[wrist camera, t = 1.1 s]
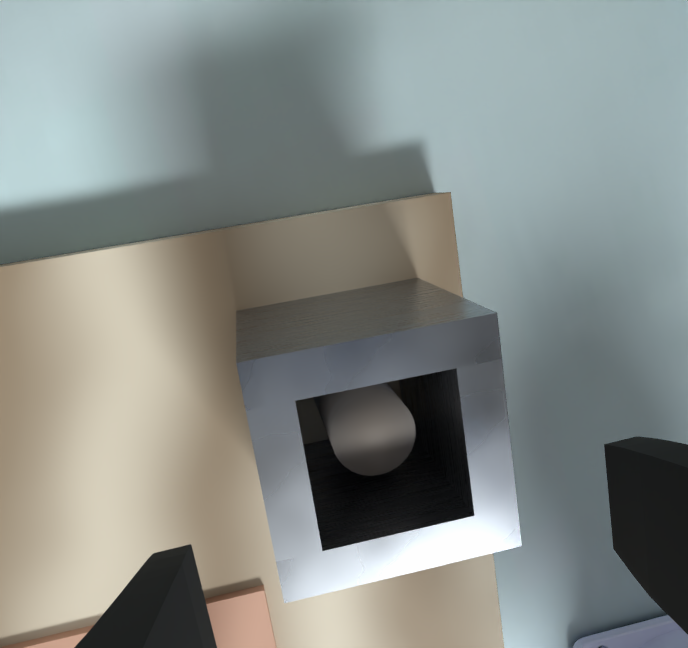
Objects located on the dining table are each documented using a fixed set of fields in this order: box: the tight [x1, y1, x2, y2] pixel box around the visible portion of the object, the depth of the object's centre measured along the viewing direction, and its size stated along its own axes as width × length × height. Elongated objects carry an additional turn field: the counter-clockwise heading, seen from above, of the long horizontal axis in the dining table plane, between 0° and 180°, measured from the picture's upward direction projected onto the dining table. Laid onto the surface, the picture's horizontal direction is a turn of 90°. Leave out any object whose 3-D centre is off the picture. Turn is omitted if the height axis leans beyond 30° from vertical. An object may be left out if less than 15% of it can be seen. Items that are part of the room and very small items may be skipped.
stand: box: [0, 192, 504, 648], centre depth 18 cm, size 16×20×6 cm
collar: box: [236, 278, 522, 603], centre depth 16 cm, size 5×5×6 cm
